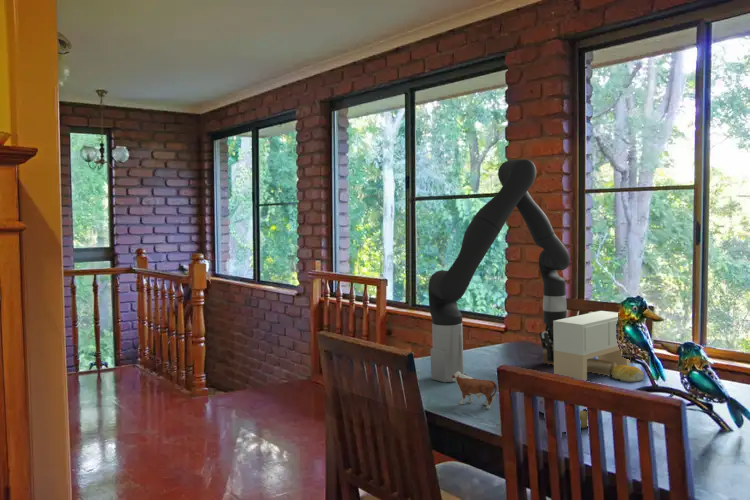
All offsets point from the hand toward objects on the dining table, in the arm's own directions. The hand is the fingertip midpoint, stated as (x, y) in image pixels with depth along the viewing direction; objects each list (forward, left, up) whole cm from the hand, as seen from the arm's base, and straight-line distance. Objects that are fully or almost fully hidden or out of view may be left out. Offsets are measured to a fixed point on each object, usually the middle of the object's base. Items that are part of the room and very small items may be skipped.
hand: (555, 360), depth 206 cm
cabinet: (-2, -15, -1) cm, 15 cm away
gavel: (-46, -32, -2) cm, 56 cm away
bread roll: (0, -25, -2) cm, 25 cm away
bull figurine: (-52, -11, -2) cm, 53 cm away
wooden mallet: (0, -9, -1) cm, 9 cm away
